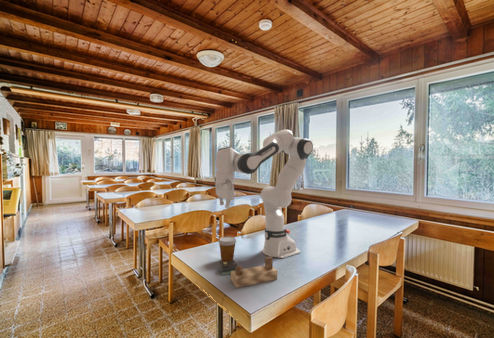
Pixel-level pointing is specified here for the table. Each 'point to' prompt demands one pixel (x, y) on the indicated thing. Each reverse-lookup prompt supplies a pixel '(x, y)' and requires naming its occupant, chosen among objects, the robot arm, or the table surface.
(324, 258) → the table surface
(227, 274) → the felt pad
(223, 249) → the disposable coffee cup
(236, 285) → the plane body
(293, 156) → the robot arm
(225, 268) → the lever cap
